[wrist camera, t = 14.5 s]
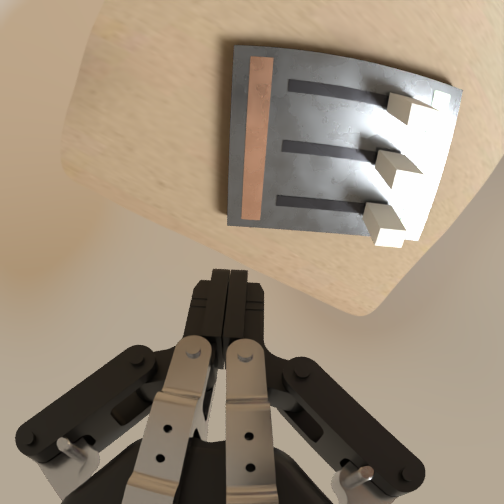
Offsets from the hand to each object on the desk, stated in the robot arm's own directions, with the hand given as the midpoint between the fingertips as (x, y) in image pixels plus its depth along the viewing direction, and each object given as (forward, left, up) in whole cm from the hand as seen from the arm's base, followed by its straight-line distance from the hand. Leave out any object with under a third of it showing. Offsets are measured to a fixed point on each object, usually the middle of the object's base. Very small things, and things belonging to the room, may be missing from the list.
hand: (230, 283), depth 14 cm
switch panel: (0, +10, -21) cm, 23 cm away
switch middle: (0, +14, -19) cm, 23 cm away
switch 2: (-6, +14, -19) cm, 24 cm away
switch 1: (+6, +14, -19) cm, 24 cm away
